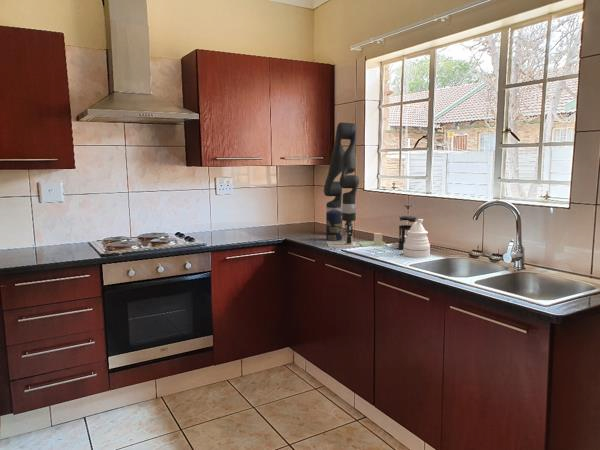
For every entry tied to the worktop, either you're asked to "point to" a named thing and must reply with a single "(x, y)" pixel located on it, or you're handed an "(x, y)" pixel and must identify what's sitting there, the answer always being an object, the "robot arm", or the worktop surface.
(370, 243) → the bin
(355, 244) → the bin
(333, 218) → the canister
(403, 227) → the french press
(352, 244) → the beige block
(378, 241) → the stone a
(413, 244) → the honey pot
